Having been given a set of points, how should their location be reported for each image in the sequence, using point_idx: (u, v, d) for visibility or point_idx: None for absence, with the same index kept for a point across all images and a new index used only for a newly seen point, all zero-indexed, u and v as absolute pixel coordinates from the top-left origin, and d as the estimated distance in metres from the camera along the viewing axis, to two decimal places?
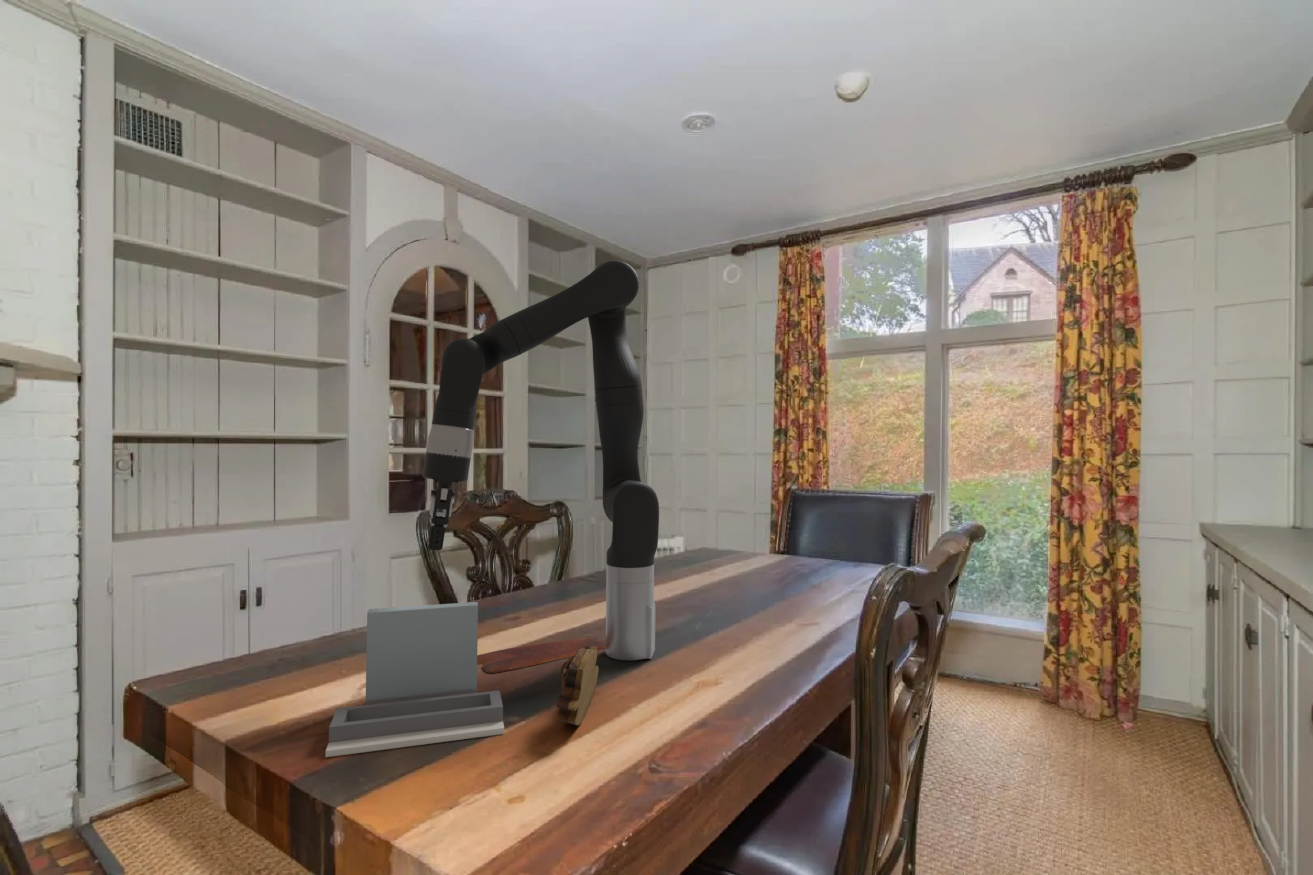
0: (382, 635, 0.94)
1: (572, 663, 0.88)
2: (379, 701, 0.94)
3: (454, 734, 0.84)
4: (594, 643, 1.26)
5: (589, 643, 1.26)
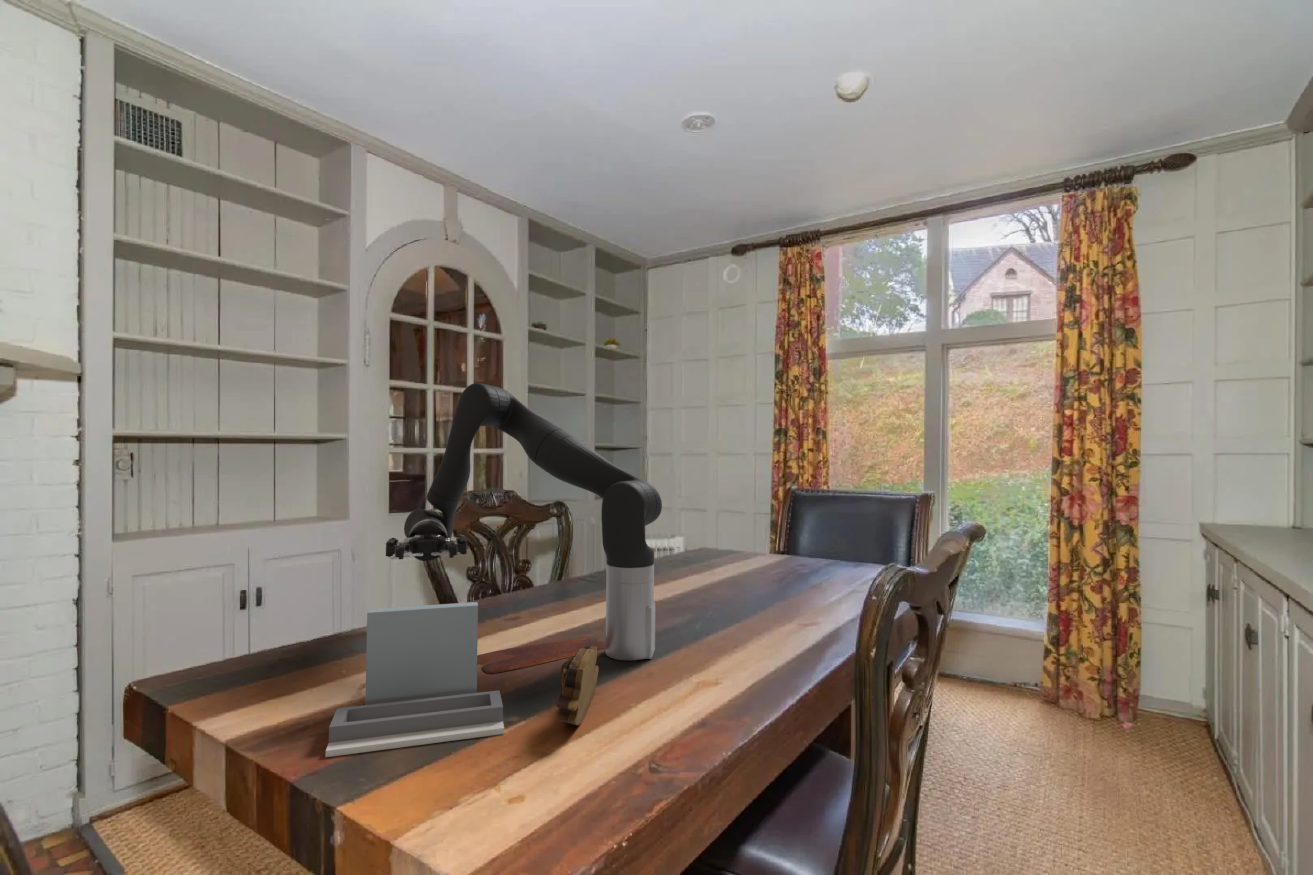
0: (382, 635, 0.94)
1: (572, 663, 0.88)
2: (379, 701, 0.94)
3: (454, 734, 0.84)
4: (594, 643, 1.26)
5: (589, 643, 1.26)
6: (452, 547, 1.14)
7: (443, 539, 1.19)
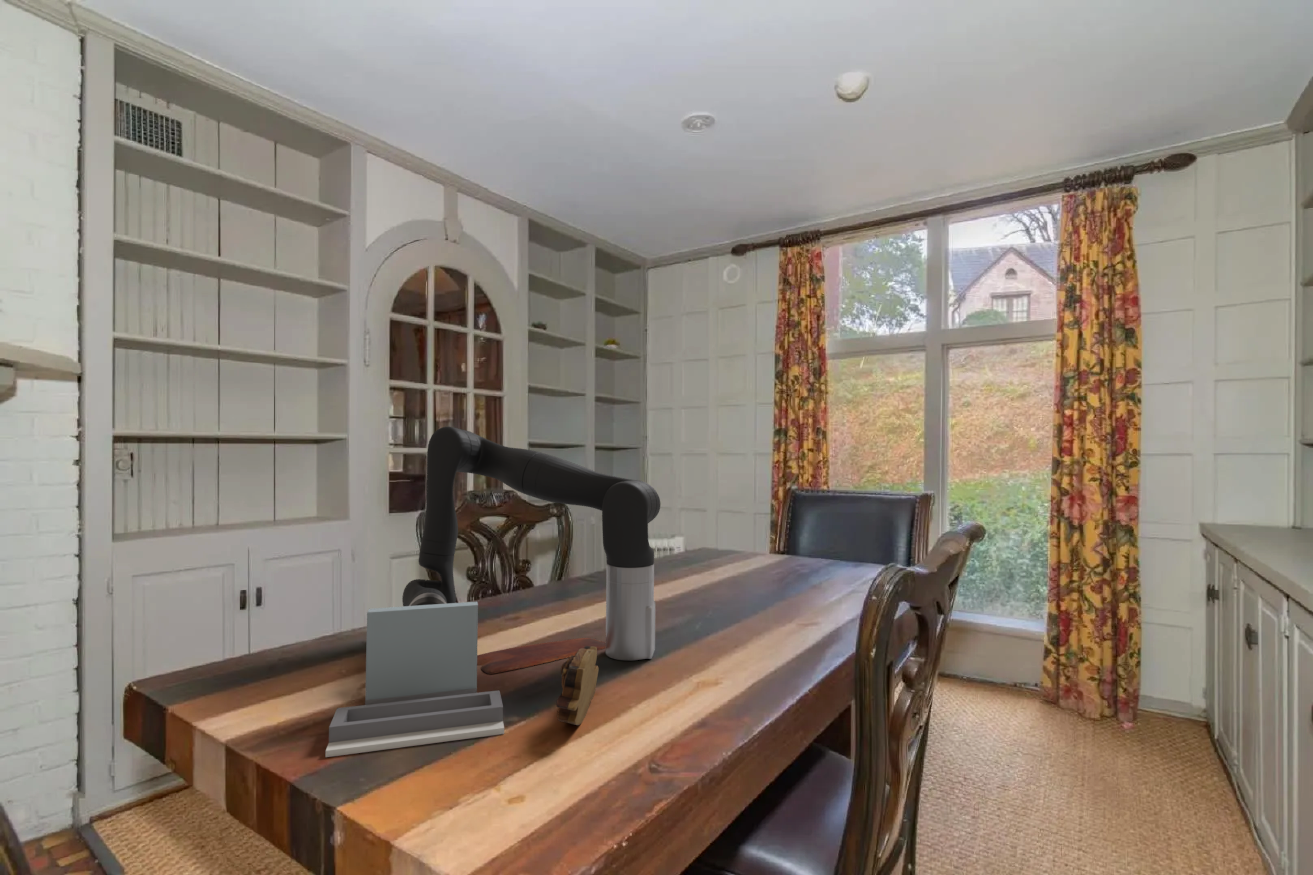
0: (382, 635, 0.94)
1: (572, 663, 0.88)
2: (379, 701, 0.94)
3: (454, 734, 0.84)
4: (594, 643, 1.26)
5: (589, 643, 1.26)
6: None
7: None
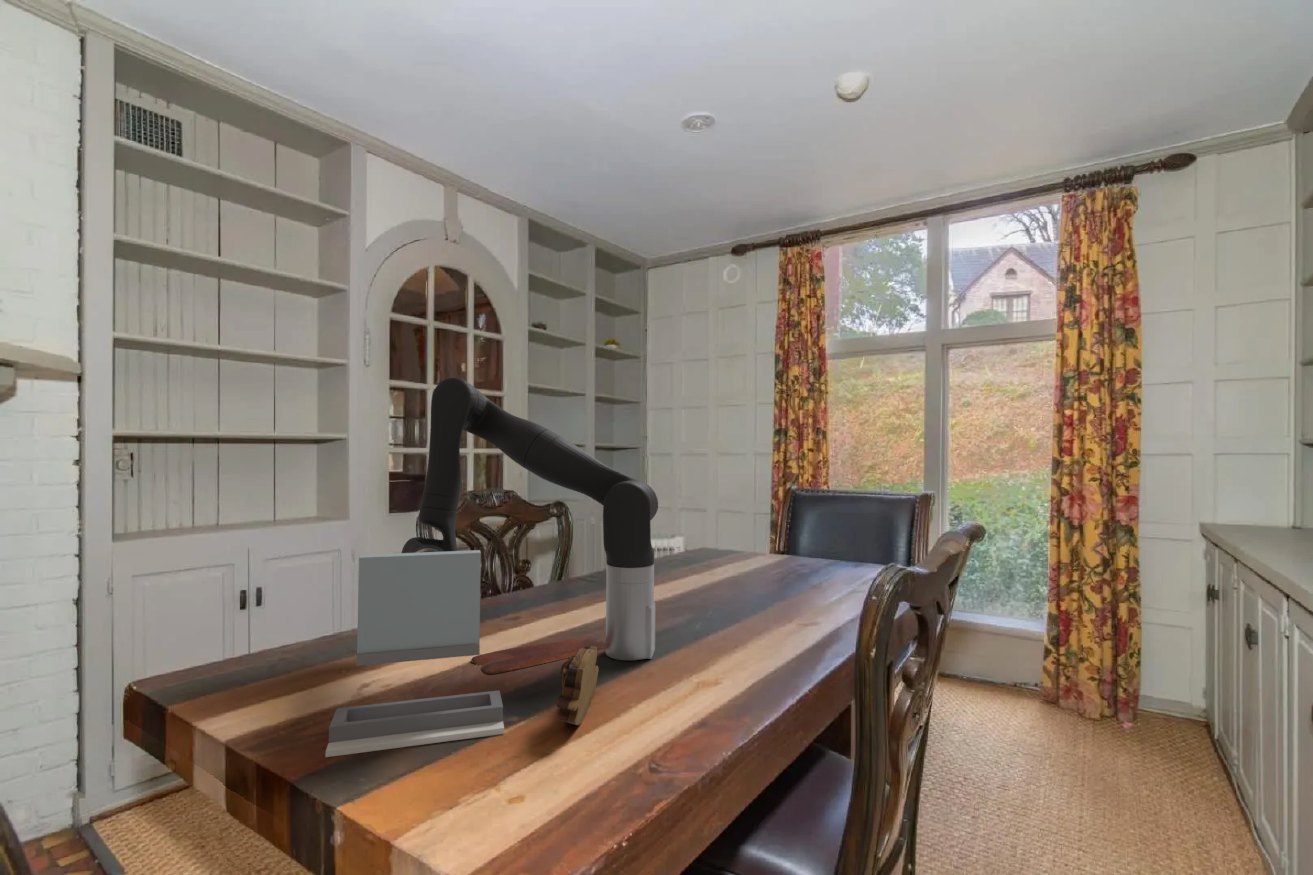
0: (375, 583, 0.86)
1: (572, 663, 0.88)
2: (372, 655, 0.85)
3: (454, 734, 0.84)
4: (593, 643, 1.26)
5: (588, 643, 1.25)
6: None
7: None
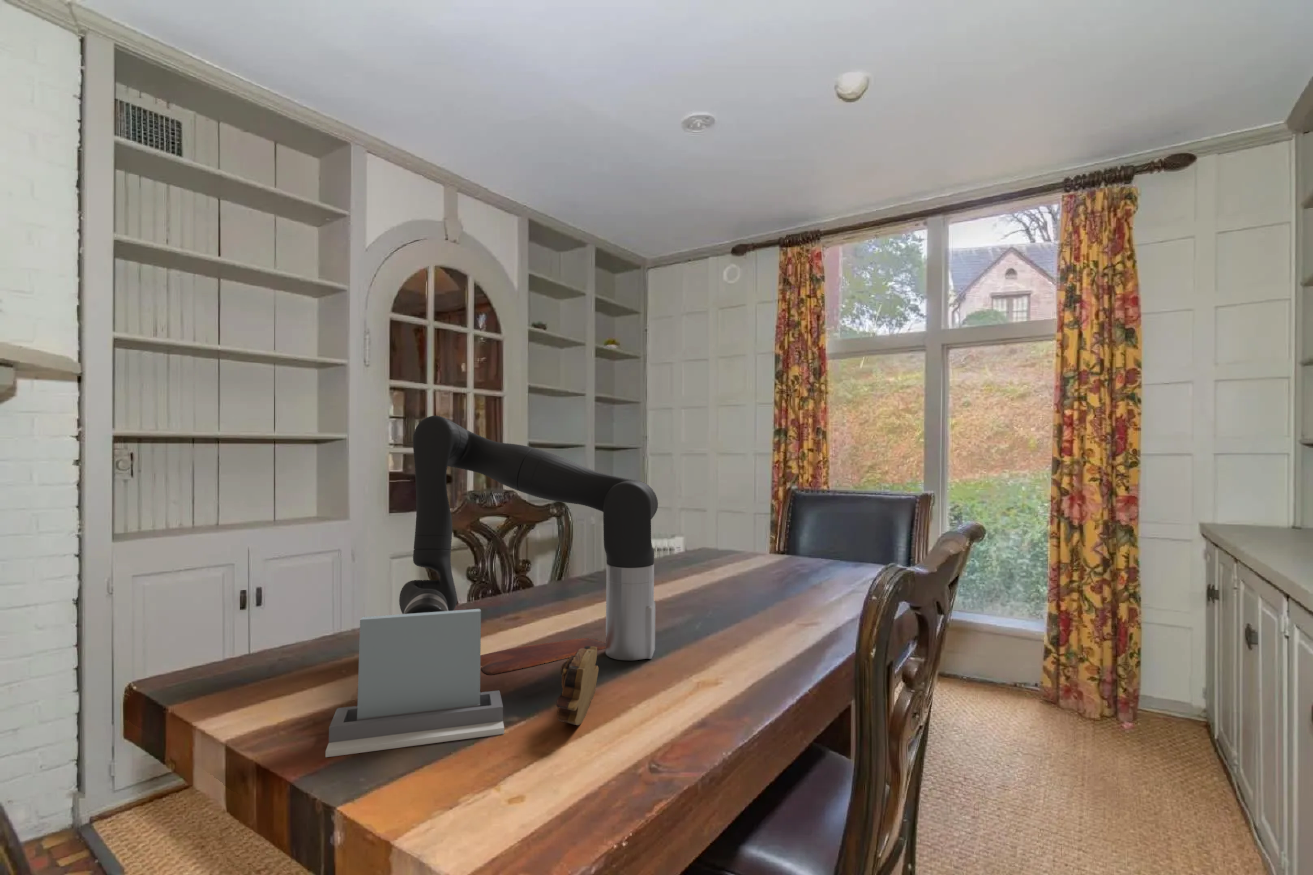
0: (376, 645, 0.86)
1: (572, 663, 0.88)
2: None
3: (454, 734, 0.84)
4: (593, 643, 1.26)
5: (588, 643, 1.25)
6: None
7: None
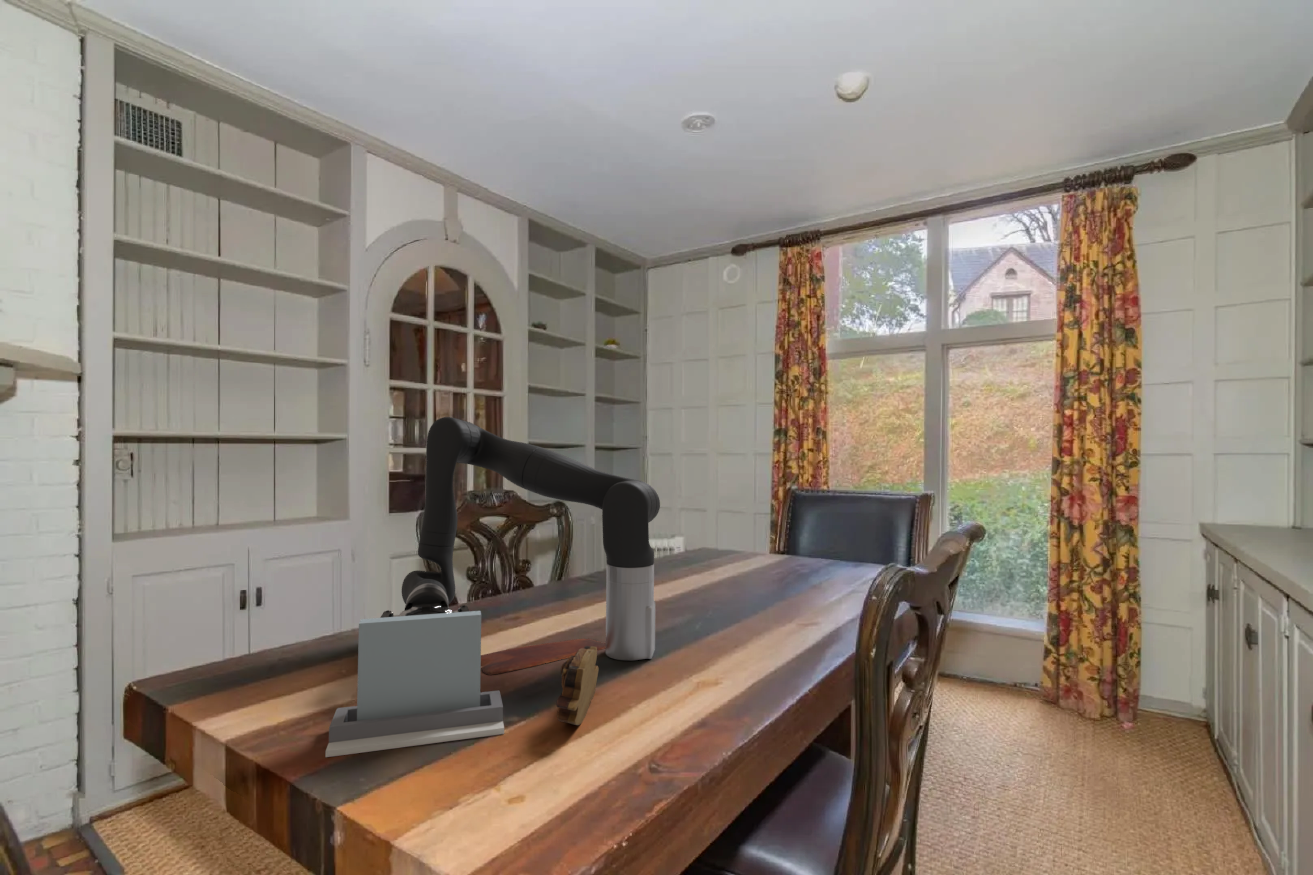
0: (375, 648, 0.85)
1: (572, 663, 0.88)
2: None
3: (454, 734, 0.84)
4: (593, 644, 1.25)
5: (588, 644, 1.25)
6: None
7: (443, 611, 1.07)
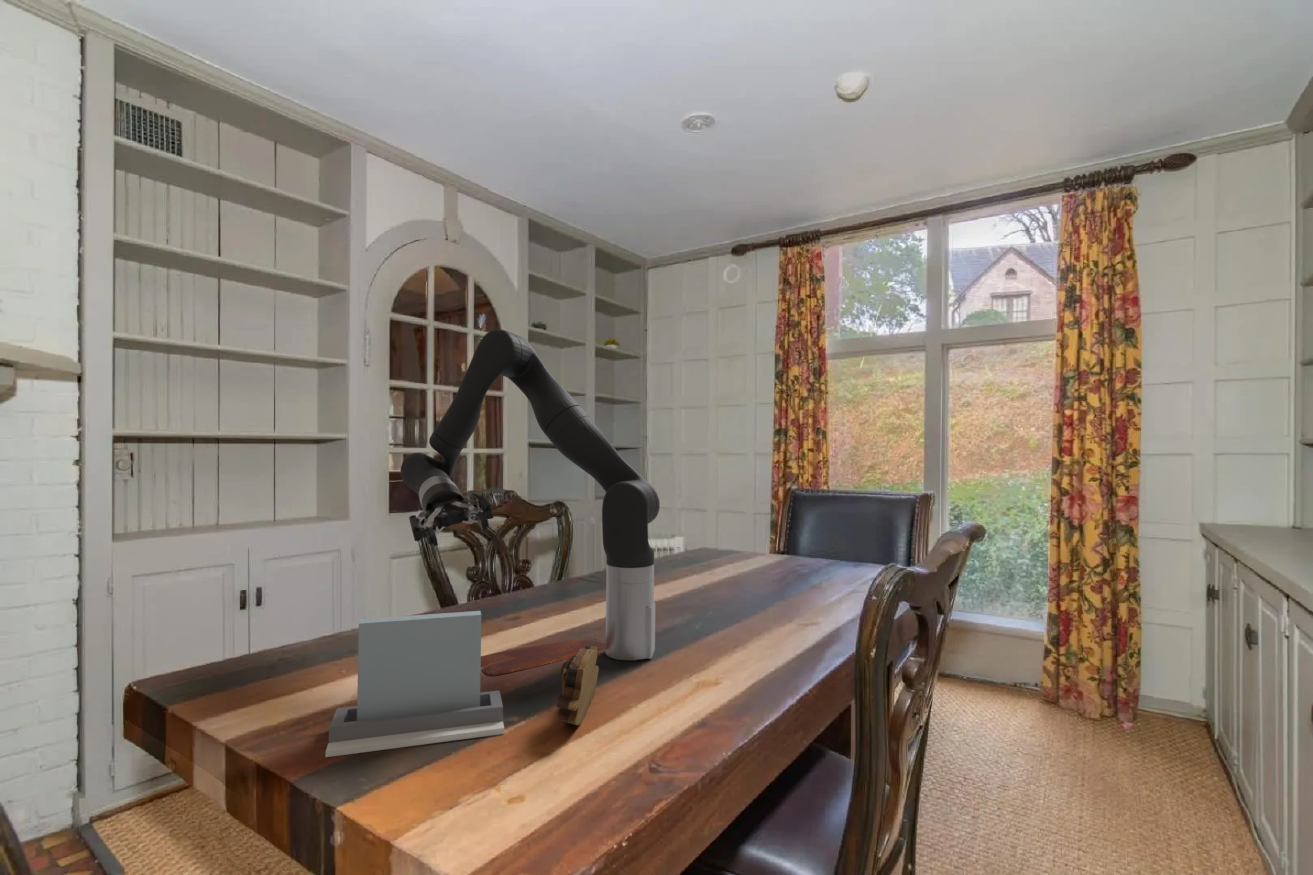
0: (375, 648, 0.85)
1: (572, 663, 0.88)
2: None
3: (454, 734, 0.84)
4: (593, 644, 1.25)
5: (588, 644, 1.25)
6: (483, 521, 1.11)
7: (466, 509, 1.15)
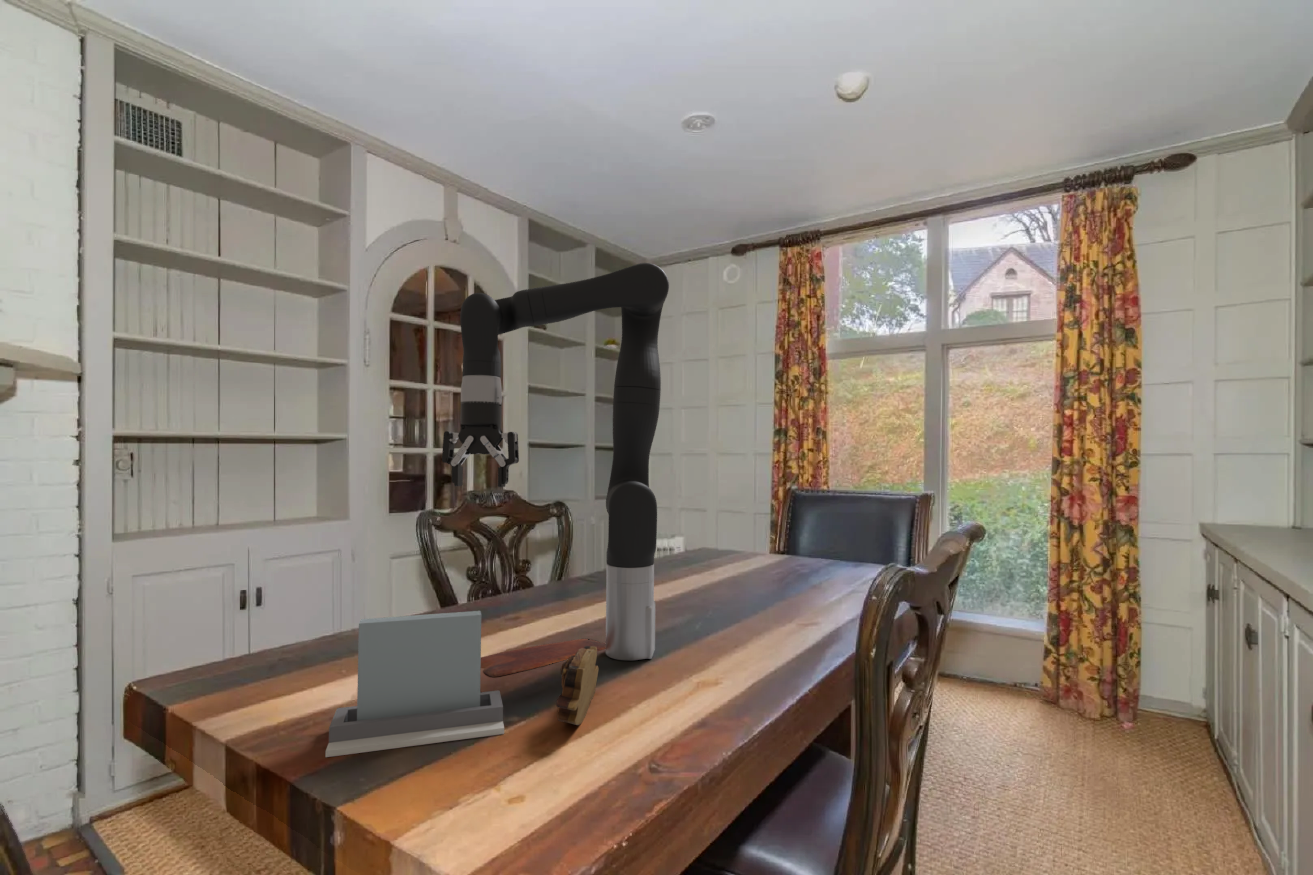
0: (375, 648, 0.85)
1: (572, 663, 0.88)
2: None
3: (454, 734, 0.84)
4: (593, 644, 1.25)
5: (588, 644, 1.25)
6: (500, 486, 1.17)
7: None
